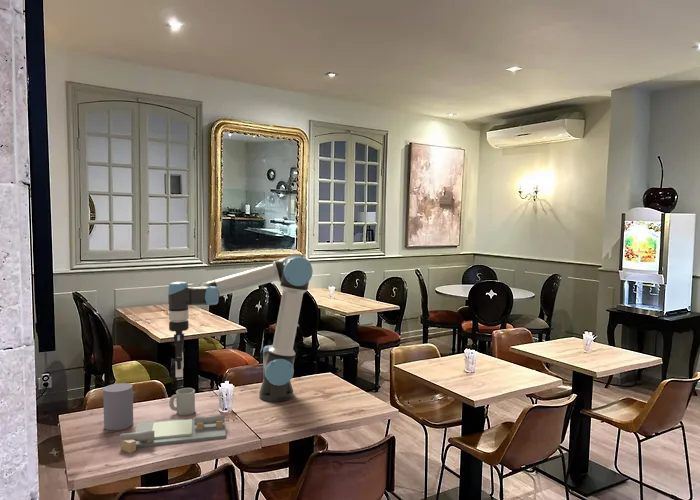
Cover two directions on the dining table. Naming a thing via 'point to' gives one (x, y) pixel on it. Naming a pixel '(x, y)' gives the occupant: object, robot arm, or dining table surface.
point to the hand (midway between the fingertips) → (179, 372)
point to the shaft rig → (174, 432)
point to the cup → (183, 401)
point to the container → (118, 406)
